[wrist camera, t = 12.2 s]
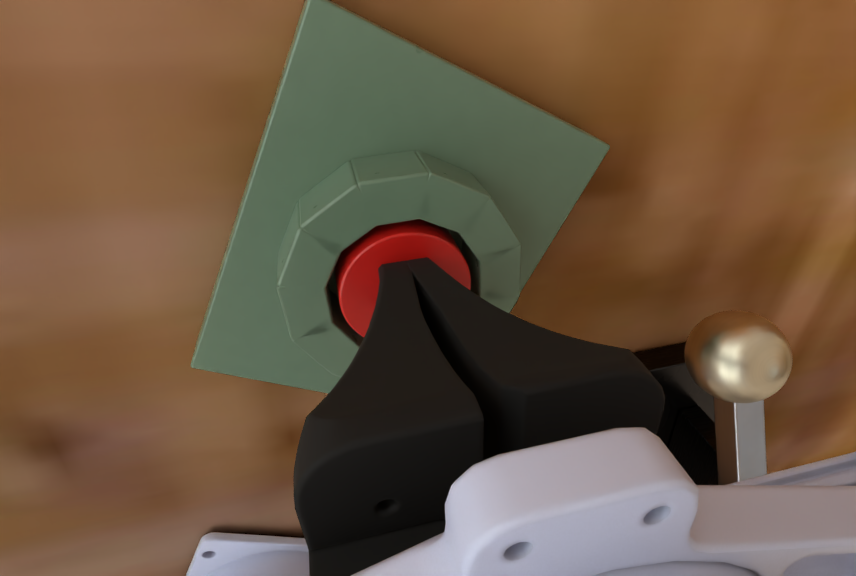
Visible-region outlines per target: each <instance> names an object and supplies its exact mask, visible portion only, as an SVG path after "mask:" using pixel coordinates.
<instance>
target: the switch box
mask: <svg viewBox="0 0 856 576" xmlns="http://www.w3.org/2000/svg"><path fill="white" fill-rule="evenodd" d="M609 149H610V146H609V144H607V143H605V142H603V141H602V140H600V139H598V138H596V137H595V136H593V135H591V134H589V133H588V132H586V131H584V130H582V129H580V128H578V127H576V126H574V125H572V124H570V123H568V122H566V121H564V120H562V119H560V118H558V117H556V116H554V115H553V114H551V113H549V112H547V111H545V110H543V109H541V108H539V107H537V106H535V105H533V104H531V103H529V102H527V101H525V100H523V99H521V98H519V97H517V96H516V95H514V94H512V93H510V92H508V91H506V90H504V89H502V88H500V87H498V86H496V85H494V84H492V83H490V82H488V81H486V80H484V79H482V78H480V77H479V76H477V75H475V74H473V73H471V72H469V71H467V70H465V69H463V68H461V67H459V66H457V65H455V64H453V63H451V62H449V61H447V60H445V59H443V58H442V57H440V56H438V55H436V54H434V53H432V52H430V51H428V50H426V49H424V48H422V47H420V46H418V45H416V44H414V43H412V42H410V41H408V40H406V39H405V38H403V37H401V36H399V35H397V34H395V33H393V32H391V31H389V30H387V29H385V28H383V27H381V26H379V25H377V24H375V23H373V22H371V21H369V20H368V19H366V18H364V17H362V16H360V15H358V14H356V13H354V12H352V11H350V10H348V9H346V8H344V7H342V6H340V5H338V4H336V3H334V2H332V1H331V0H305V2H304V5H303V8H302V11H301V15H300V18H299V21H298V24H297V27H296V30H295V33H294V37H293V40H292V43H291V46H290V49H289V52H288V55H287V59H286V62H285V65H284V68H283V71H282V74H281V77H280V81H279V84H278V87H277V90H276V93H275V96H274V99H273V103H272V106H271V109H270V112H269V115H268V118H267V121H266V125H265V128H264V131H263V134H262V137H261V140H260V143H259V147H258V150H257V153H256V156H255V159H254V162H253V165H252V169H251V172H250V175H249V178H248V181H247V184H246V187H245V191H244V194H243V197H242V200H241V203H240V206H239V209H238V213H237V216H236V219H235V222H234V225H233V228H232V231H231V235H230V238H229V241H228V244H227V247H226V250H225V253H224V257H223V260H222V263H221V266H220V269H219V272H218V275H217V279H216V282H215V285H214V288H213V291H212V294H211V297H210V301H209V304H208V307H207V310H206V313H205V316H204V319H203V323H202V326H201V329H200V332H199V335H198V338H197V342H196V346H195V350H194V354H193V358H192V362H191V367H192V368H196V369H201V370H206V371H212V372H217V373H222V374H228V375H233V376H238V377H244V378H249V379H254V380H260V381H265V382H271V383H276V384H281V385H287V386H292V387H297V388H303V389H308V390H313V391H319V392H324V393H330V391H331V390H332V389H333V388H334V386H335V385H336V384H337V382H338V381H339V379H340V378H341V377H342V375H343V374H344V373H345V371H346V370H347V368H348V367H349V365H350V364H351V362H352V360H353V358H354V356H355V355H356V353H357V351H358V349H359V347H360V345H361V343H362V341H363V339H364V337H362V336H361V335H359V334H358V333H357V332H356V331H355V330H353V328H352V327H351V326H350V325H349V324H348V323H347V321H346V320H345V318H344V316H343V314H342V311H341V308H340V304H339V297H338V290H337V283H336V276H335V265H336V263H337V261H338V258H339V256H340V254H341V252H342V251H343V250H345V249H346V248H347V247H349V246H350V245H351V244H353V243H354V242H355V241H357V240H358V239H359V238H361V237H362V236H363V235H365V234H366V233H368V232H369V231H370V230H372V229H373V228H374V227H376V226H379V225H385V224H391V223H398V222H404V221H410V220H416V219H421V220H424V221H427V222H430V223H433V224H435V225H438V226H441V227H444V228H446V229H448V231H449V233H450V234H451V236H452V238H453V239H454V241H455V243H456V244H457V246H458V248H459V249H460V251H461V253H462V255H463V256H464V258H465V260H466V262H467V264H468V267H469V270H470V275H471V289H470V291H472V292H473V293H475V294H476V295H478V296H479V297H481V298H483V299H484V300H486V301H487V302H489V303H491V304H492V305H494V306H496V307H498V308H500V309H501V310H503V311H505V312H507V313H510V312H511V310H512V308H513V307H514V305H515V303H516V302H517V300H518V298H519V296H520V292H521V290H522V289H523V287H524V286H525V284H526V282H527V281H528V279H529V278H530V276H531V274H532V273H533V271H534V270H535V268H536V266H537V265H538V263H539V261H540V260H541V258H542V257H543V255H544V253H545V252H546V250H547V249H548V247H549V245H550V244H551V242H552V241H553V239H554V237H555V236H556V234H557V232H558V231H559V229H560V228H561V226H562V224H563V223H564V221H565V220H566V218H567V216H568V215H569V213H570V212H571V210H572V208H573V207H574V205H575V203H576V202H577V200H578V199H579V197H580V195H581V194H582V192H583V191H584V189H585V187H586V186H587V184H588V183H589V181H590V179H591V178H592V176H593V174H594V173H595V171H596V170H597V168H598V166H599V165H600V163H601V162H602V160H603V158H604V157H605V155H606V154H607V152H608V150H609Z"/></svg>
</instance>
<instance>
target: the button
mask: <svg viewBox="0 0 856 576" xmlns="http://www.w3.org/2000/svg"><path fill="white" fill-rule="evenodd" d="M425 257H428V258H429V259H430V260H432V261H433V262H434V263H435V264H437V265H438V266H439V267H440V268H441V269H443V270H444V271H445V272H446V273H448V274H449V275H450V276H451V277H453V278H454V279H455V280H457V281H458V282H459V283H461V284H462V285H463V286H465V287H466V288H467V289H469V290H470V289H471V275H470V270H469V267H468V264H467V262H466V260H465V258H464V256H463V255H462V253H461V251H460V249H459V248H458V246H457V244H456V243H455V241H454V239H453V238H452V236H451V234H450V233H449V231H448V229H446V228H444V227H441V226H438V225H435V224H433V223H430V222H427V221H424V220H421V219H416V220H410V221H404V222H398V223H391V224H385V225H379V226H376V227H374V228H373V229H372V230H370V231H369V232H368V233H366V234H365V235H363V236H362V237H361V238H359V239H358V240H357V241H355V242H354V243H353V244H351V245H350V246H349V247H347V248H346V249H345V250H343V251H342V252H341V254H340V256H339V258H338V261H337V263H336V265H335V276H336V283H337V290H338V297H339V304H340V308H341V311H342V314H343V316H344V318H345V320H346V321H347V323H348V324H349V325H350V326H351V327H352V328H353V330H355V331H356V332H357V333H358V334H359V335H361V336H362V337H365V334H366V332H367V329H368V327H369V324H370V321H371V318H372V315H373V312H374V309H375V305H376V300H377V295H378V290H379V273H378V268H379V267H380V266H381V265H382V264H387V263H393V262H400V261H406V260H412V259H418V258H425Z"/></svg>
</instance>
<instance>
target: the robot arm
mask: <svg viewBox="0 0 856 576" xmlns="http://www.w3.org/2000/svg"><path fill="white" fill-rule="evenodd" d="M378 273H379V290H378V295H377V300H376V305H375V309H374V312H373V315H372V318H371V321H370V324H369V327H368V329H367V332H366V334H365V337H364V339H363V341H362V343H361V345H360V347H359V349H358V351H357V353H356V355H355V356H354V358H353V360H352V362H351V364H350V365H349V367H348V368H347V370H346V371H345V373H344V374H343V375H342V377H341V378H340V379H339V381H338V382H337V384H336V385H335V386H334V388H333V389H332V390H331V391H330V393H329V394H328V395H327V396H326V397H325V398H324V399H323V400H322V402H321V403H320V404H319V405H318V406H317V407H316V408H315V409H314V410H313V411H312V412H311V413H310V414H309V415H308V416H307V417H306V420H305V423H304V426H303V430H302V433H301V437H300V441H299V445H298V449H297V454H296V460H295V467H294V502H295V510H296V513H297V516H298V519H299V522H300V525H301V528H302V531H303V534H304V537H305V538H296V537H281V536H265V535H250V534H235V533H220V532H211V533H208V534H206V535H204V536H203V537H202V538H201V539H200V542H199V544H198V547H197V549H196V552H195V554H194V557H193V559H192V562H191V564H190V567H189V569H188V572H187V574H186V576H856V452H853V453H849V454H845V455H841V456H837V457H833V458H829V459H825V460H822V461H818V462H814V463H810V464H806V465H802V466H798V467H794V468H790V469H786V470H782V471H778V472H774V473H770V474H766V475H762V476H758V477H755V478H751V479H747V480H743V481H739V482H735V483H731V484H727V485H696V484H695V483H694V482H693V480H692V479H691V478H690V477H689V475H688V474H687V473H686V471H685V470H684V469H683V467H682V466H681V465H680V464H679V462H678V461H677V460H676V458H675V457H674V456H673V455H672V453H671V452H670V451H669V449H668V448H667V447H666V445H665V444H664V443H663V442H662V440H661V439H660V438H659V437H658V436H656V434H657V431H658V427H659V424H660V421H661V417H662V414H663V410H664V403H665V395H664V391H663V388H662V386H661V385H660V383H659V382H658V381H657V380H656V379H655V377H654V376H653V375H652V374H651V373H650V371H649V370H648V369H647V368H646V367H645V365H644V364H643V363H642V362H641V361H640V360H639V359H638V358H637V357H636V356H635V355H634V354H633V353H632V352H631V351H630V350H628V349H623V348H618V347H613V346H607V345H602V344H597V343H592V342H588V341H584V340H580V339H576V338H573V337H569V336H565V335H562V334H559V333H556V332H553V331H550V330H547V329H545V328H542V327H539V326H537V325H534V324H531V323H529V322H527V321H524V320H522V319H520V318H518V317H516V316H514V315H512V314H509V313H507V312H505V311H503V310H501V309H500V308H498V307H496V306H494V305H492V304H491V303H489V302H487V301H486V300H484V299H483V298H481V297H479V296H478V295H476V294H475V293H473V292H472V291H470V290H469V289H467V288H466V287H465V286H463V285H462V284H461V283H459V282H458V281H457V280H455V279H454V278H453V277H451V276H450V275H449V274H448V273H446V272H445V271H444V270H443V269H441V268H440V267H439V266H438V265H437V264H435V263H434V262H433V261H432V260H430V259H429V258H428V257H425V258H418V259H412V260H406V261H400V262H393V263H387V264H382V265H381V266H380V267H379V268H378Z"/></svg>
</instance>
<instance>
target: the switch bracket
mask: <svg viewBox="0 0 856 576" xmlns="http://www.w3.org/2000/svg"><path fill="white" fill-rule="evenodd" d="M685 345H686V342H685V343H680V344H675V345H671V346H666V347H661V348H656V349H651V350H646V351H641V352H636V353H633V354H634V355H635V356H636V357H637V358H638V359H639V360H640V361H641V362H642V363H643V364H644V365H645V367H646V368H647V369H648V370H649V371H650V373H651V374H652V375H653V376H654V377H655V379H656V380H657V381H658V382H659V383H660V385H661V386H662V388H663V391H664V395H665V403H664V410H663V414H662V417H661V421H660V424H659V427H658V431H657V434H656V436H658V437H659V438H660V439H661V440H662V442H663V443H664V444H665V445H666V447H667V448H668V449H669V451H670V452H671V453H672V455H673V456H674V457H675V458H676V460H677V461H678V462H679V464H680V465H681V466H682V467H683V469H684V470H685V471H686V473H687V474H688V475H689V477H690V478H691V479H692V480H693V482H694V483H695V484H696V485H718V468H717V450H716V433H715V415H714V398H713V396H712V395H710V394H708V393H707V392H705V391H704V390H703V389H702V388H700V387H699V386H698V385H697V383H696V382H695V381H694V380H693V379H692V377H691V375H690V373H689V371H688V369H687V366H686V362H685Z"/></svg>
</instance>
